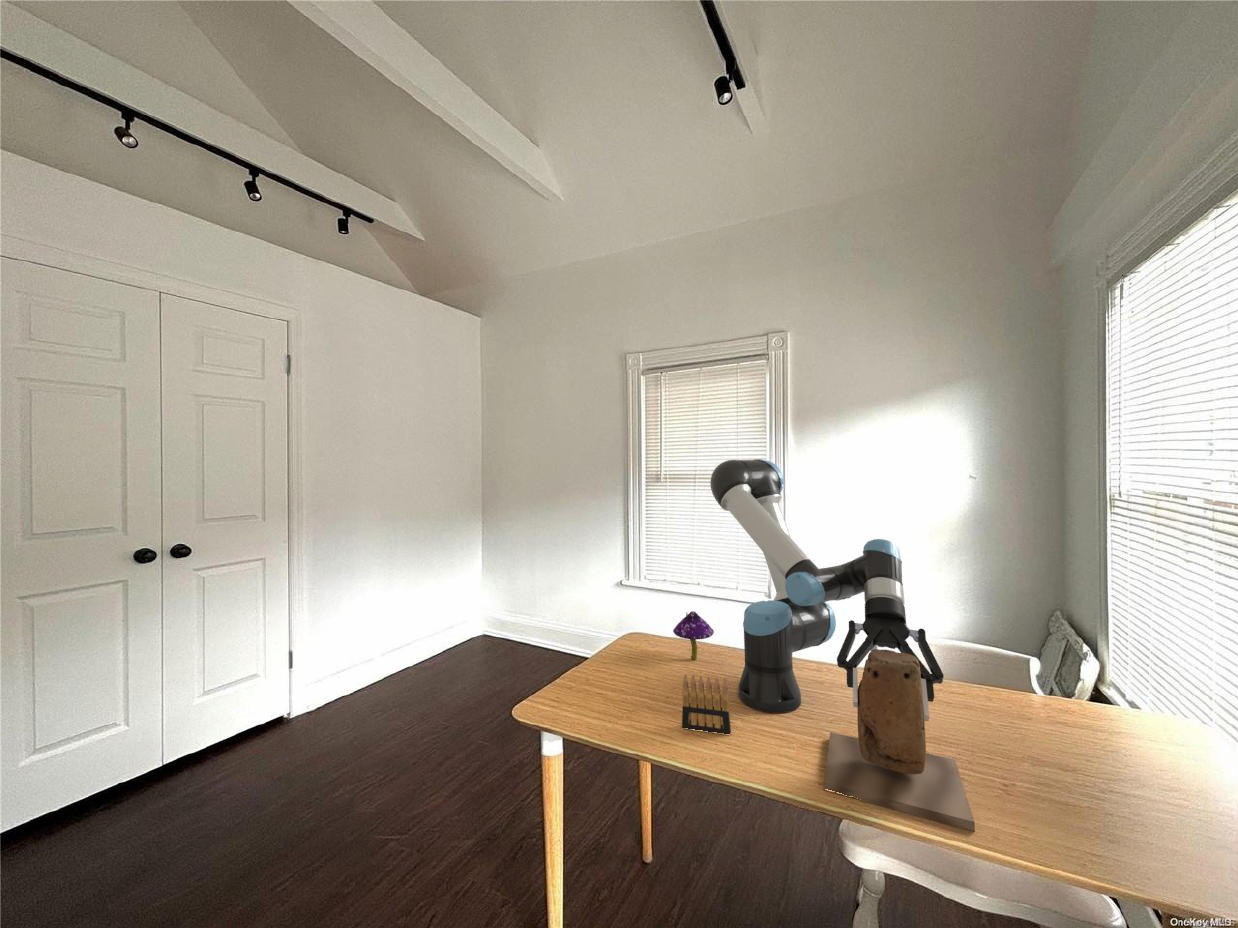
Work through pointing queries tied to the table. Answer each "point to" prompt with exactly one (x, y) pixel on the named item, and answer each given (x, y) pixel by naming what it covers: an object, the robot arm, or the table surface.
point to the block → (892, 712)
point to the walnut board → (899, 784)
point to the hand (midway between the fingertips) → (889, 711)
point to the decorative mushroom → (693, 630)
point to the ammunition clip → (705, 707)
